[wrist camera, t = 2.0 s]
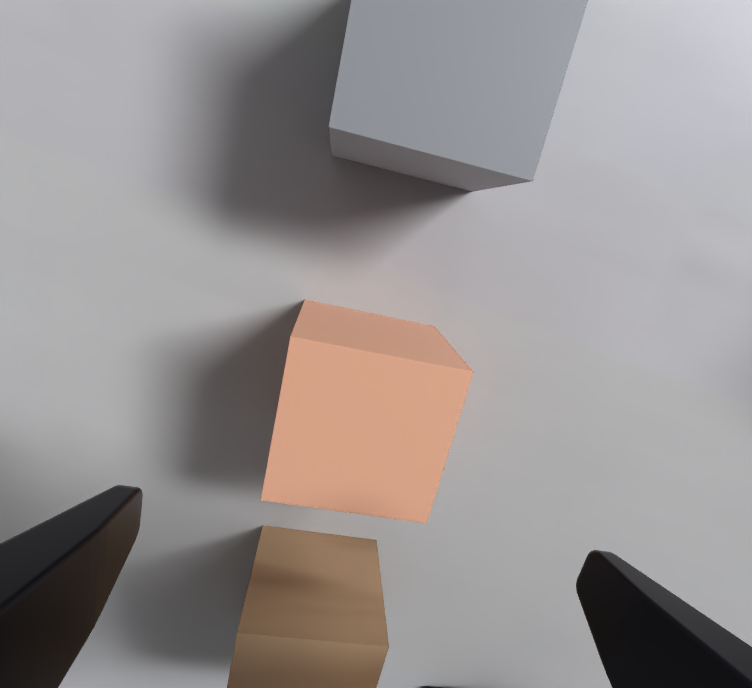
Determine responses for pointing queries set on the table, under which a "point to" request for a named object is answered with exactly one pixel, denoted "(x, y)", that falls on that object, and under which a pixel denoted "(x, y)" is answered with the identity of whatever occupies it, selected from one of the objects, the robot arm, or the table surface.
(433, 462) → the terracotta cube
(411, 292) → the table surface
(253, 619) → the walnut cube
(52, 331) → the table surface
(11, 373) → the table surface
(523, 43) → the grey cube
